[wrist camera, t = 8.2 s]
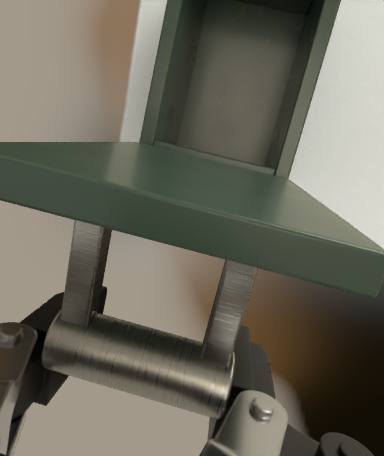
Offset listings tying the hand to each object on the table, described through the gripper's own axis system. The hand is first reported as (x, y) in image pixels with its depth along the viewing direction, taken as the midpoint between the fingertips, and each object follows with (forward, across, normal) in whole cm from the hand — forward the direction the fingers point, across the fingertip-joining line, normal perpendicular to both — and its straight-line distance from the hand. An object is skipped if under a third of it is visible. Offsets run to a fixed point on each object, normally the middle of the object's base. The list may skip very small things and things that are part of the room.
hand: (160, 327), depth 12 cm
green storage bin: (+14, 0, -11) cm, 18 cm away
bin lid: (0, 0, -6) cm, 6 cm away
